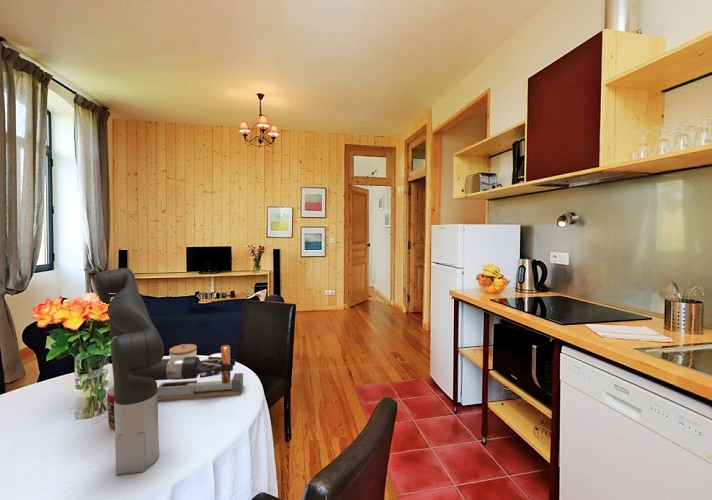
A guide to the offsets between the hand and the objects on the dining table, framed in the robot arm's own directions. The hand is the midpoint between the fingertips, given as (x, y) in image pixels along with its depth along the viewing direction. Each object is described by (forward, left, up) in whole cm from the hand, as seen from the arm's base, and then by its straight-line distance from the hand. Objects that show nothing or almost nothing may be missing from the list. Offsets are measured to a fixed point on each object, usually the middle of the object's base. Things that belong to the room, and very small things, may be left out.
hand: (233, 364), depth 124 cm
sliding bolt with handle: (0, +7, -9) cm, 11 cm away
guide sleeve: (0, +19, -9) cm, 21 cm away
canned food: (-15, +30, -10) cm, 35 cm away
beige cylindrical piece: (+19, +10, -10) cm, 24 cm away
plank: (0, +11, -10) cm, 15 cm away
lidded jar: (+29, +26, -10) cm, 40 cm away
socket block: (0, -1, -9) cm, 9 cm away
